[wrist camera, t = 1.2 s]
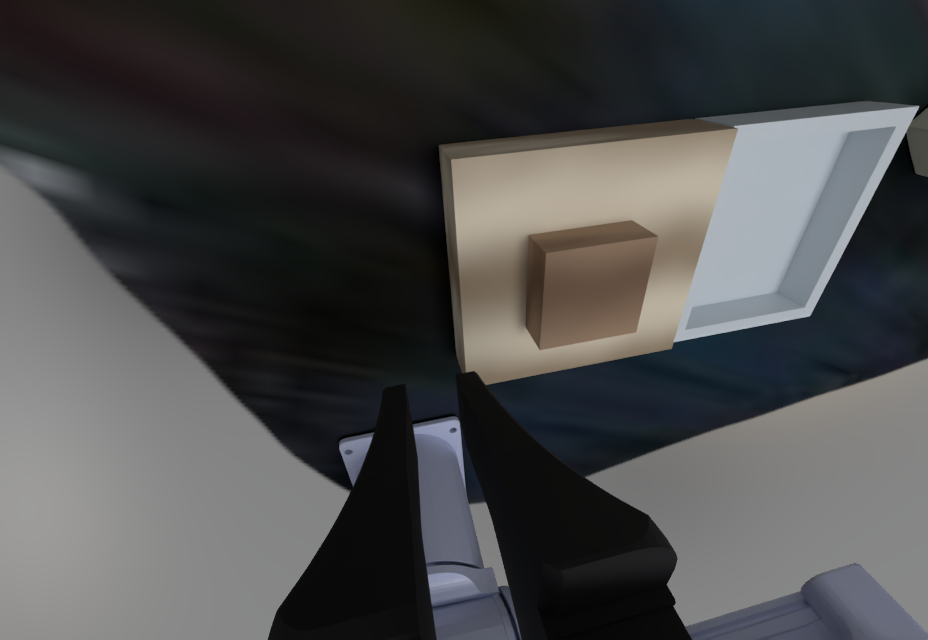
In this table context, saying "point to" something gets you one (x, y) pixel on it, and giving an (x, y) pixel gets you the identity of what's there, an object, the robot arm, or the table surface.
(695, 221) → the plate
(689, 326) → the box
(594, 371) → the table surface
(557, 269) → the walnut tile
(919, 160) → the skincare box
